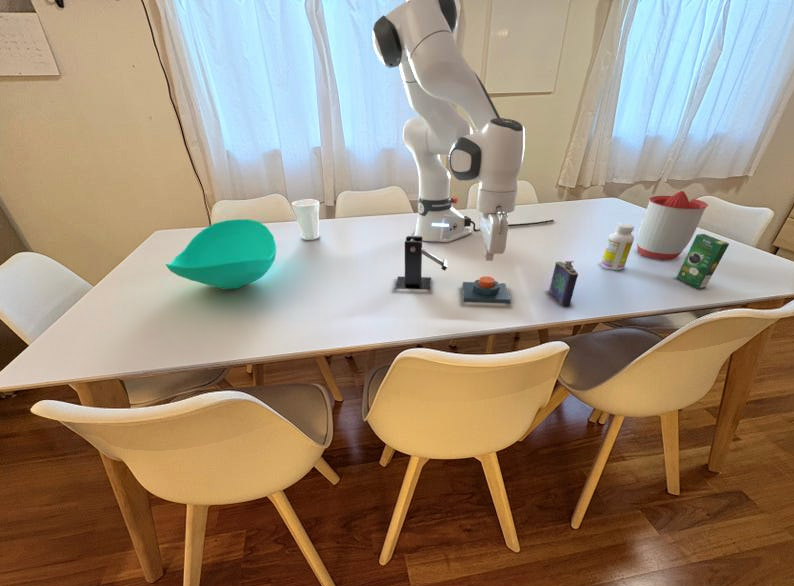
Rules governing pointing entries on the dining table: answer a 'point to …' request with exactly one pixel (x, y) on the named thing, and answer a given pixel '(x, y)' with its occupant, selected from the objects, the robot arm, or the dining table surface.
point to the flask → (563, 282)
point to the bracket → (413, 266)
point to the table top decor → (227, 254)
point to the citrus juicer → (669, 225)
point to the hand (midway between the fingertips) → (488, 258)
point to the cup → (307, 217)
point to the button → (486, 282)
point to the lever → (434, 258)
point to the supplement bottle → (618, 247)
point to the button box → (485, 293)
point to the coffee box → (702, 260)
